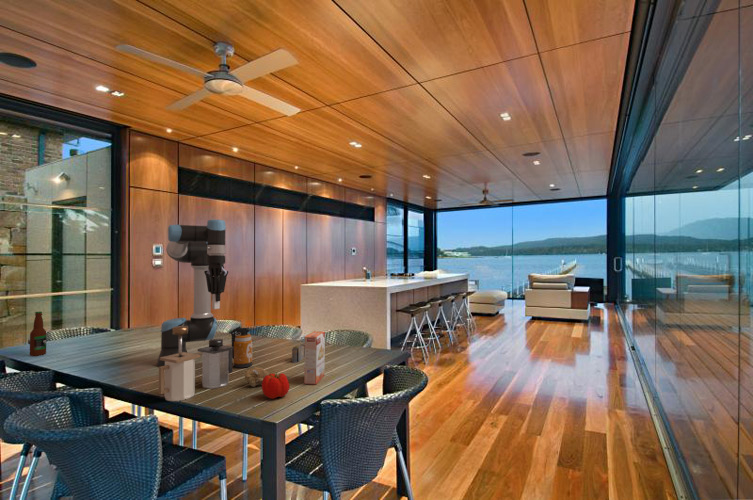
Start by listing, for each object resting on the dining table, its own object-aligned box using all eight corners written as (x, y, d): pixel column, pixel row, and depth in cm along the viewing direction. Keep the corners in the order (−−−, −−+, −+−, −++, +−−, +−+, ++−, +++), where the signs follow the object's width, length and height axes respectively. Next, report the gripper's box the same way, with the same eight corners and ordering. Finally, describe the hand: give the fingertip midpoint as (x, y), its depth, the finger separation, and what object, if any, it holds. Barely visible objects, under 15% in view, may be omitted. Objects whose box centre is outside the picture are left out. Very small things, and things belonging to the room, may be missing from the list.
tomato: (256, 399, 155) (256, 377, 155) (273, 391, 165) (273, 369, 165) (279, 403, 151) (279, 380, 151) (295, 394, 161) (295, 372, 161)
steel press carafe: (197, 386, 172) (197, 349, 172) (223, 378, 183) (223, 343, 184) (213, 390, 166) (213, 351, 167) (239, 381, 178) (239, 345, 179)
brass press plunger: (166, 368, 158) (166, 327, 158) (182, 364, 164) (182, 325, 164) (177, 370, 154) (177, 329, 154) (194, 366, 160) (194, 326, 161)
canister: (246, 369, 198) (246, 328, 199) (226, 368, 201) (226, 328, 201) (255, 364, 207) (255, 325, 208) (236, 363, 209) (236, 325, 210)
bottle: (38, 356, 227) (39, 312, 228) (26, 356, 227) (26, 312, 228) (49, 353, 234) (50, 310, 235) (37, 353, 234) (37, 311, 235)
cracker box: (317, 385, 172) (317, 336, 173) (303, 384, 173) (303, 336, 174) (325, 375, 186) (325, 330, 187) (313, 375, 187) (312, 330, 188)
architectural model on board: (297, 363, 210) (297, 345, 210) (292, 363, 211) (292, 344, 211) (306, 358, 221) (306, 340, 221) (301, 358, 222) (301, 340, 222)
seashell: (258, 378, 182) (258, 361, 182) (275, 379, 180) (275, 362, 181) (242, 388, 169) (242, 369, 169) (260, 389, 167) (260, 370, 167)
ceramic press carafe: (151, 401, 154) (151, 359, 154) (183, 390, 166) (183, 352, 166) (168, 405, 149) (168, 362, 149) (199, 394, 161) (200, 354, 161)
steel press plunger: (203, 377, 172) (203, 340, 173) (216, 373, 179) (217, 337, 179) (214, 380, 169) (214, 342, 169) (228, 375, 175) (228, 339, 175)
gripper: (199, 255, 175) (198, 308, 174) (219, 254, 169) (219, 310, 168) (213, 255, 182) (213, 307, 181) (233, 254, 175) (233, 308, 175)
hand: (215, 308), depth 175 cm, fingers closed
